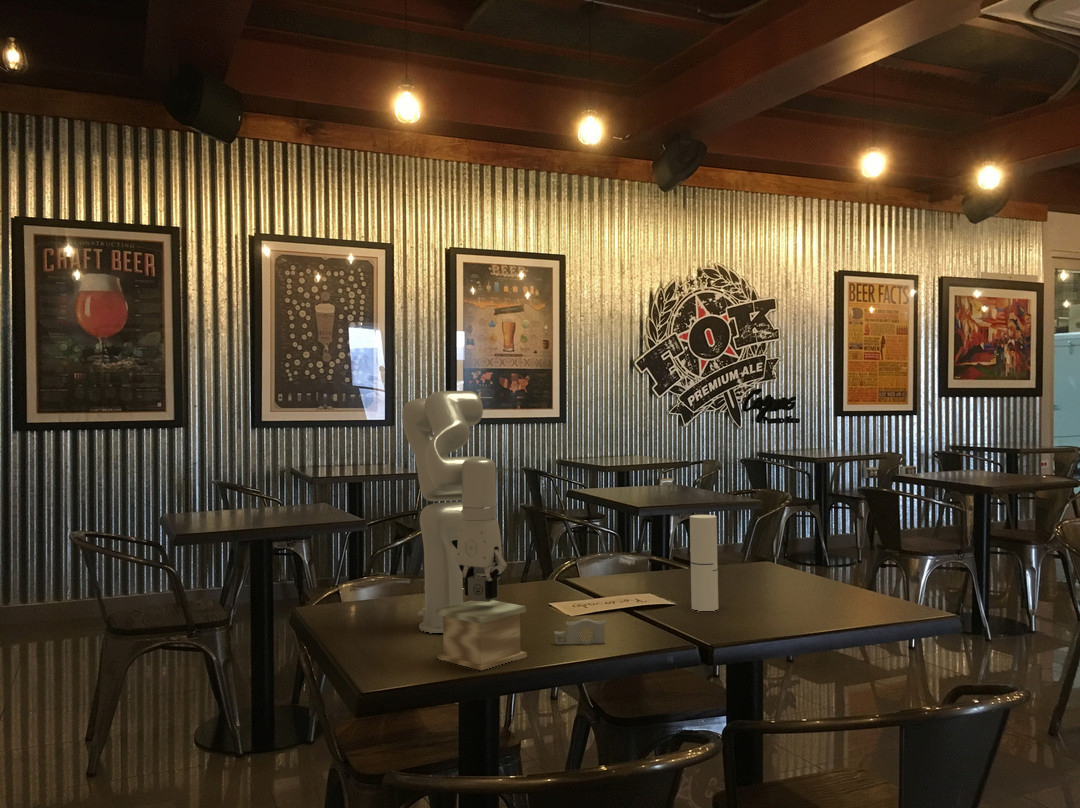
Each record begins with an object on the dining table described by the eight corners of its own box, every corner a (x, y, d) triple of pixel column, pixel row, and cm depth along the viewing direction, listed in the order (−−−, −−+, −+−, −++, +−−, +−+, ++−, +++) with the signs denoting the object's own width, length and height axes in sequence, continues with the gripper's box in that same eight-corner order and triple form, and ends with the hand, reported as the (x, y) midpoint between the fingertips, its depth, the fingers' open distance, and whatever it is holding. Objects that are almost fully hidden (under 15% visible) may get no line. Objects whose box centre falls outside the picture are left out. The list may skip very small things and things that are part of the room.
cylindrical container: (686, 607, 244) (685, 515, 244) (710, 605, 246) (708, 514, 246) (699, 612, 237) (697, 518, 237) (723, 610, 240) (721, 517, 240)
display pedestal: (437, 659, 197) (436, 609, 198) (482, 646, 208) (482, 598, 208) (481, 671, 188) (480, 618, 188) (527, 656, 198) (526, 606, 198)
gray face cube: (488, 601, 195) (488, 578, 195) (468, 600, 197) (467, 577, 197) (498, 597, 200) (497, 574, 200) (478, 595, 202) (477, 573, 202)
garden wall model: (554, 645, 208) (554, 620, 208) (554, 643, 210) (553, 618, 210) (606, 644, 208) (605, 618, 208) (605, 642, 210) (604, 616, 210)
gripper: (440, 514, 201) (442, 594, 201) (495, 519, 190) (496, 604, 189) (465, 510, 207) (466, 589, 207) (519, 515, 195) (521, 598, 195)
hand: (481, 595), depth 198 cm, fingers closed on gray face cube, 5 cm apart
